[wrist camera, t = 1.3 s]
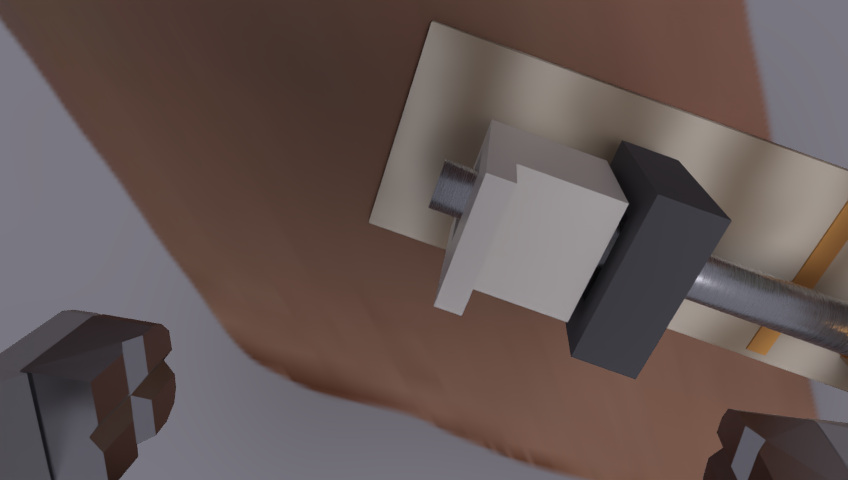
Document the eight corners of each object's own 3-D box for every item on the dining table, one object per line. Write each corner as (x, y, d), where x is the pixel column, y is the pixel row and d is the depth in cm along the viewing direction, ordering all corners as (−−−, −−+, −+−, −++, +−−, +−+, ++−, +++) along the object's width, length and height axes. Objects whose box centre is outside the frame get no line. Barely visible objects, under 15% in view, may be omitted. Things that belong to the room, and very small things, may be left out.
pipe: (431, 198, 30) (424, 218, 28) (448, 150, 29) (443, 166, 26) (920, 372, 30) (955, 405, 28) (955, 331, 29) (994, 362, 27)
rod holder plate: (371, 217, 37) (321, 310, 27) (433, 19, 32) (399, 43, 22) (903, 405, 38) (1046, 563, 28) (1047, 241, 33) (1285, 362, 23)
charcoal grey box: (557, 272, 34) (571, 356, 26) (622, 140, 30) (657, 194, 23) (608, 290, 34) (635, 379, 26) (678, 160, 30) (731, 220, 23)
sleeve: (451, 225, 32) (433, 306, 24) (491, 119, 30) (486, 172, 22) (557, 262, 32) (573, 355, 25) (606, 160, 30) (641, 228, 22)
